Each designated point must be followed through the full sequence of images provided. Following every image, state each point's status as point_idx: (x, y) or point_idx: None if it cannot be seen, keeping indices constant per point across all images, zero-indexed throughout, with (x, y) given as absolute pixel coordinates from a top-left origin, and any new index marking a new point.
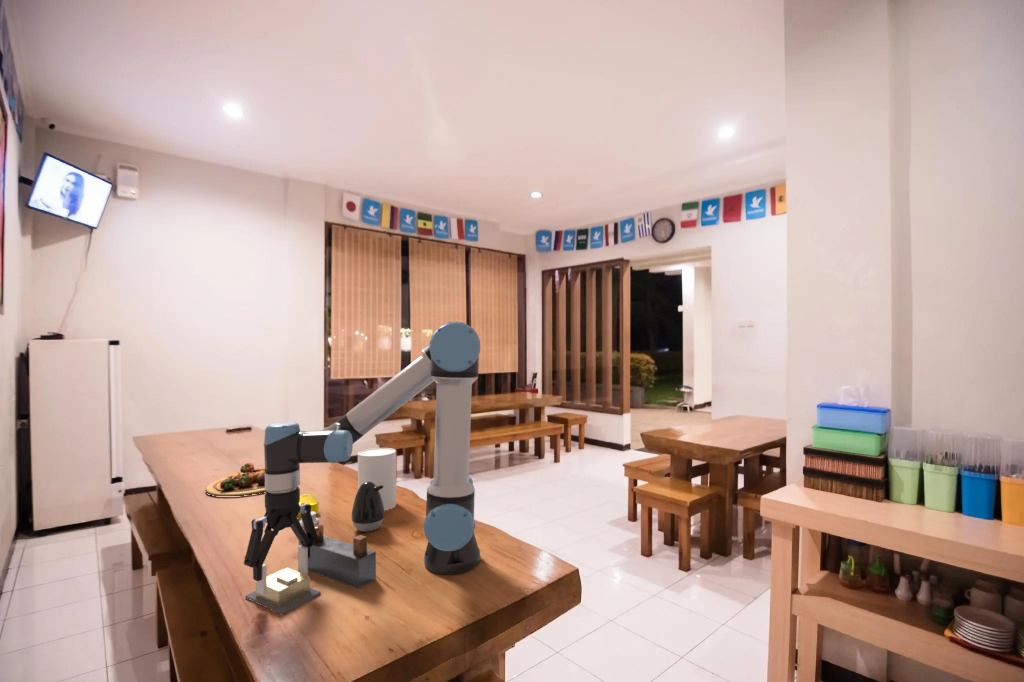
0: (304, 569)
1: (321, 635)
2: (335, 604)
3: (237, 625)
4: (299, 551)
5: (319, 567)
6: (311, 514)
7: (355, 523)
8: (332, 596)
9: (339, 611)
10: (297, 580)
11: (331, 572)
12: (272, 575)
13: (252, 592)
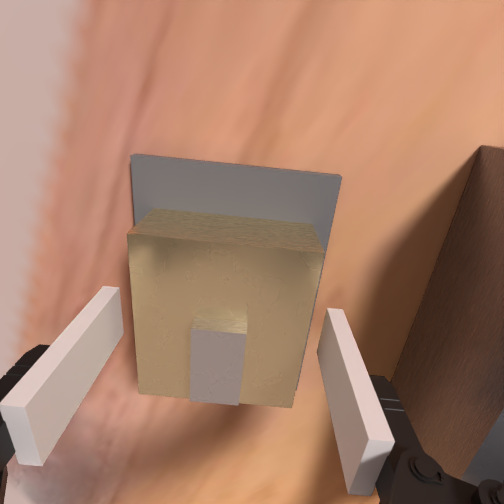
0: (322, 367)
1: (150, 489)
2: (266, 445)
3: (29, 299)
4: (354, 415)
5: (446, 299)
6: None
7: None
8: (299, 416)
9: (244, 469)
10: (240, 391)
11: (415, 365)
12: (217, 259)
13: (166, 159)
